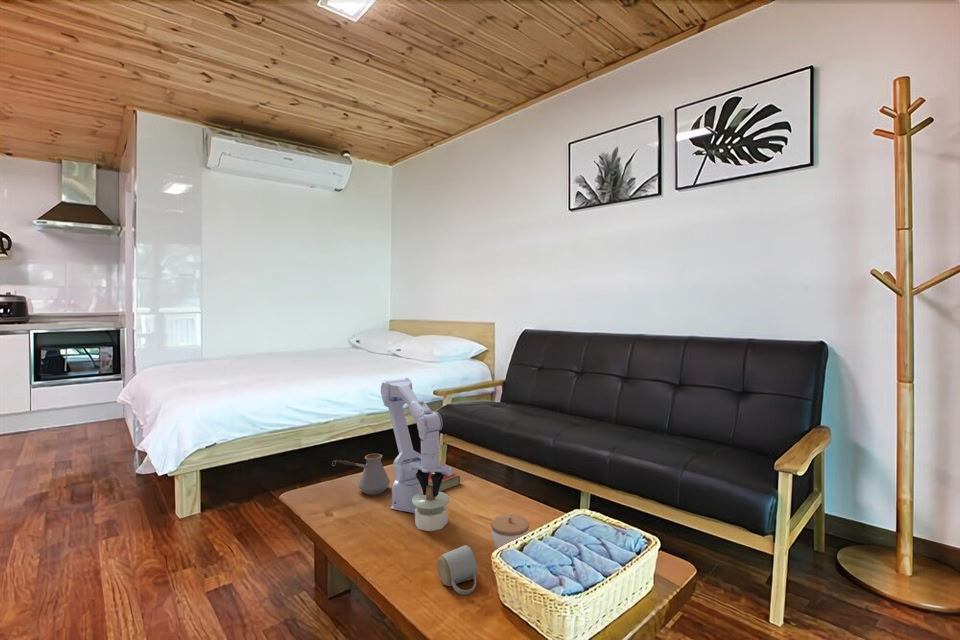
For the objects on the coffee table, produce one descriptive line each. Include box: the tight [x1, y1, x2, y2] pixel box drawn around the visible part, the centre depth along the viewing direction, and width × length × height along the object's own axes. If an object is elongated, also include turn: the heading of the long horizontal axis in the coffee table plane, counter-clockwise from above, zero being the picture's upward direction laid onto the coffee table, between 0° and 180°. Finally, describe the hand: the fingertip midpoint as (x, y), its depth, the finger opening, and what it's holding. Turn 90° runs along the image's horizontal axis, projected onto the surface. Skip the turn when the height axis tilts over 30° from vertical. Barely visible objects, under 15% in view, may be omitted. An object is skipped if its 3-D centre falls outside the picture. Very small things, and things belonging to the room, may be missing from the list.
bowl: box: [414, 505, 448, 532], centre depth 147 cm, size 9×9×4 cm
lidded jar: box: [490, 513, 530, 549], centre depth 131 cm, size 11×11×9 cm
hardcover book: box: [428, 472, 461, 492], centre depth 181 cm, size 12×21×4 cm, turn 45°
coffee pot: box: [331, 453, 391, 496], centre depth 169 cm, size 21×12×15 cm, turn 130°
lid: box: [412, 484, 450, 509], centre depth 146 cm, size 12×12×5 cm
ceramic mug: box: [436, 544, 478, 596], centre depth 115 cm, size 11×8×8 cm
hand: (430, 494), depth 146 cm, fingers closed on lid, 3 cm apart
